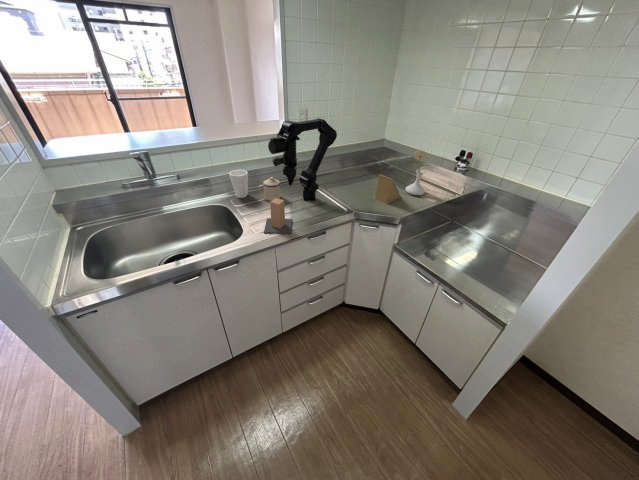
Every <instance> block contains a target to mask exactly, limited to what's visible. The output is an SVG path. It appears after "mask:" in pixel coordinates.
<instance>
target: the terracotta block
mask: <svg viewBox="0 0 639 480" xmlns="http://www.w3.org/2000/svg"><path fill="white" fill-rule="evenodd" d="M269 206H270V219H271V224H272V227H276V228H279V229H281V228H282V227H283V226H284V225H285V219H286V211H285V210H286V209H285V208H286V207H285V199H281V198H280V199H278V198H275V199H273V200H272V201H269Z"/></svg>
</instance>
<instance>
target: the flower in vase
mask: <svg viewBox="0 0 639 480" xmlns="http://www.w3.org/2000/svg"><path fill="white" fill-rule="evenodd" d="M413 157H414V159H415V160H417V163H412V164H411V166H412V167H414V168H417V169H416V170H415V171H416V179H415V182H413V183H411V184H409V185H407V186H406V187H405V191H406V193H408V194H410V195H413V196H422V195H424V194H425V193H426V191H425V189H424V187H423V186H422V185H421V183H420V181H421V178H422V176H423V175H424V174H425V172H426V171H425V170H423V169H425V168H427V166H426V165H425V166H421V167H419V162H426V161H427V160H428V158H429V156H428V154H427V152H425V151H424V150H422V149H421V150H420V149H419V150H416V151H415V152H414V153H413Z"/></svg>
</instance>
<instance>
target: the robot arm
mask: <svg viewBox="0 0 639 480" xmlns="http://www.w3.org/2000/svg"><path fill="white" fill-rule="evenodd" d="M313 130H317V132H318V133H319V136H318V142H319V144H318V145H317V147H316V150H315V152H314V154H313V157H312V158H311V160H310V163H309V165H308V167H307V169H306V170H301V174H300V175H299V184H300V185H301V187H303V189H302V198H303V200H304V201H305V202H306V201H311V202H314V201H316V192H317V191H318V189H319V188H320V186H319V184H317V183H316V181H317V172H318V170H319V168H320V166H321V163H322V161H323V159H324V158H325V155H326V152H327V150H328V149H329V147H330V146H332V145H333V144H334V143H335V141H336V139H337V138H338V133H337V131H336V129H334V128H333V127H332V126H331V125H330V124H329V123H328V122H327V121H326V120H325V119H324V118H319V117H318V118H315V119H309V120H303V121H302V120H301V121H294V120H293V121H292V120H284V121H283V122H282V123H281V127H280V128H279V131H278V133H277V135H276V137H270V140H269V141H268V144H267V147H268V148H267V149H268V151H269V153H270V154H271V155H275V154H280V155H275V156H274V157H272V164H273V165H274V167H278V166H280V165H283V167H282V174H283V175H284V176H285V177H286V179H287V182H288V186H292V185H293V183H294V180H295V178H296V177H297V176H296V175H297V173H298V172H297V169H298V168H297V165H298V157H297V141H300V140H301V138H300V137H299V135H301V134H302V133H303V132H307V131H313ZM281 153H283V154H281Z"/></svg>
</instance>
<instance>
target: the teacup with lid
mask: <svg viewBox="0 0 639 480" xmlns="http://www.w3.org/2000/svg"><path fill="white" fill-rule="evenodd" d="M257 187H258V192H259V193H260V194H264V199H265V200H267V201H269V202H271V201H272V200H273V199H275V198H278V199H281V181H280V180H279V179H276V178H274V177H273V176H271V177H269V178H267V179H265V180H264V181H263V182H262V184H259V186H257ZM261 187H263V190H261Z"/></svg>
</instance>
